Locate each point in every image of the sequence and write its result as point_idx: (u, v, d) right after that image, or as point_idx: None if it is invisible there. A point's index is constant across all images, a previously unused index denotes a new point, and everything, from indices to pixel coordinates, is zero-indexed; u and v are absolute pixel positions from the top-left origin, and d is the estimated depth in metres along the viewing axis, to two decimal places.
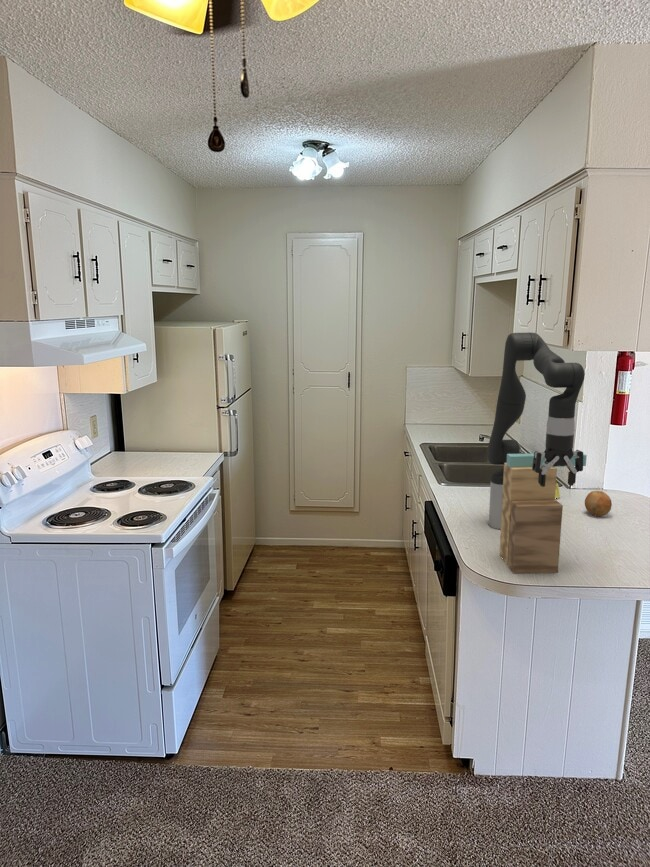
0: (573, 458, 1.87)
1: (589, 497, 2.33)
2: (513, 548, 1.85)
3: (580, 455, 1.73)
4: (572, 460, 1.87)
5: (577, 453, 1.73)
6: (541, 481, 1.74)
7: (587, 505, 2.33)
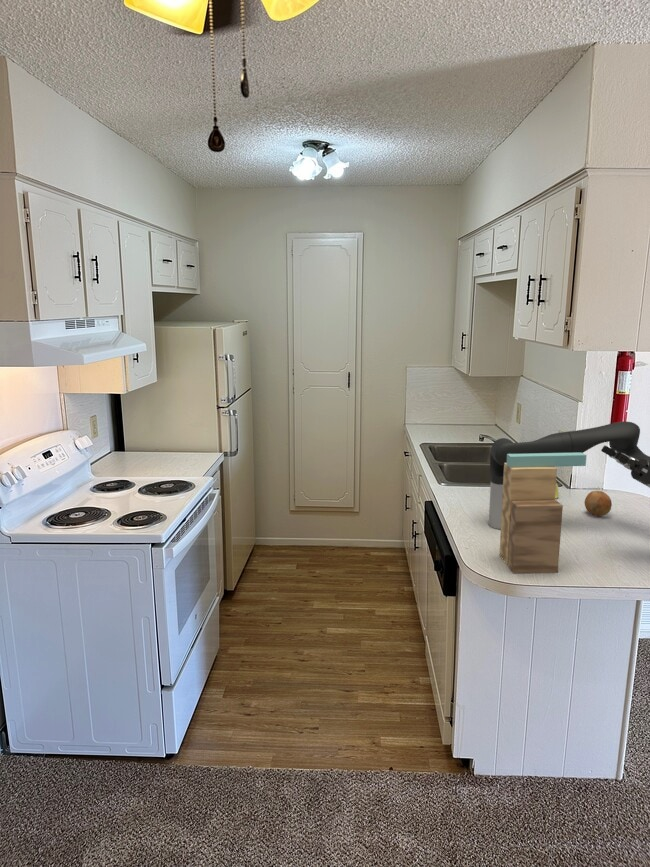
0: (573, 458, 1.87)
1: (589, 497, 2.33)
2: (513, 548, 1.85)
3: (621, 463, 1.95)
4: (572, 460, 1.87)
5: (624, 462, 1.95)
6: (620, 459, 1.84)
7: (587, 505, 2.33)
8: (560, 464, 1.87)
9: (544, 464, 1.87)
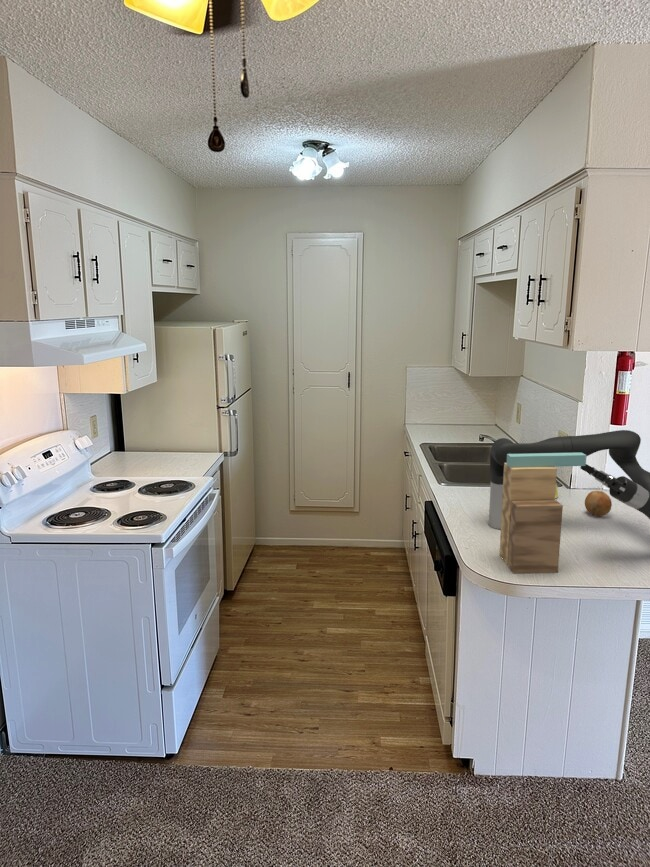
0: (573, 458, 1.87)
1: (589, 497, 2.33)
2: (513, 548, 1.85)
3: None
4: (572, 460, 1.87)
5: None
6: (598, 477, 1.85)
7: (587, 505, 2.33)
8: (560, 464, 1.87)
9: (544, 464, 1.87)
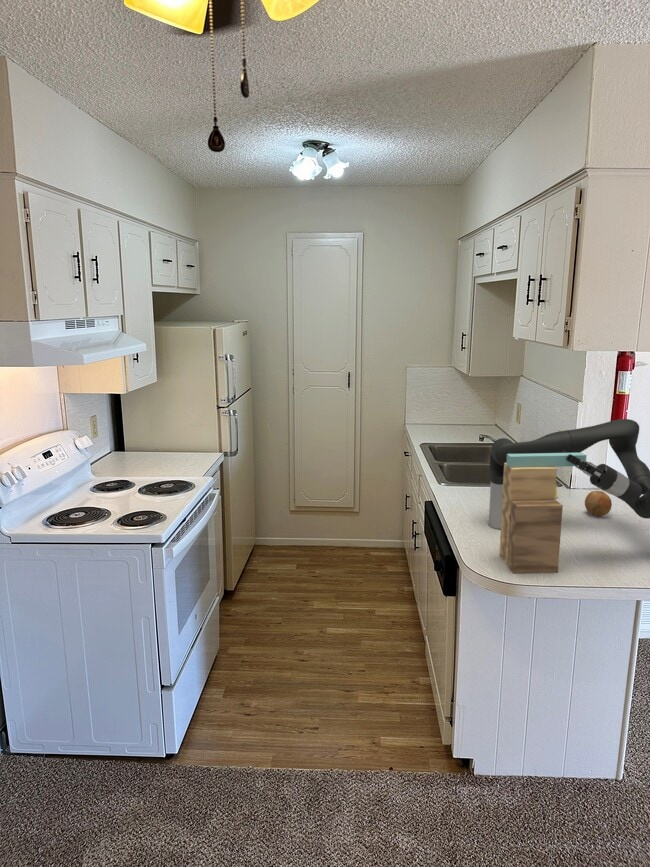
0: None
1: (589, 497, 2.33)
2: (513, 548, 1.85)
3: None
4: None
5: None
6: (571, 461, 1.86)
7: (587, 505, 2.33)
8: (560, 464, 1.87)
9: (544, 464, 1.87)
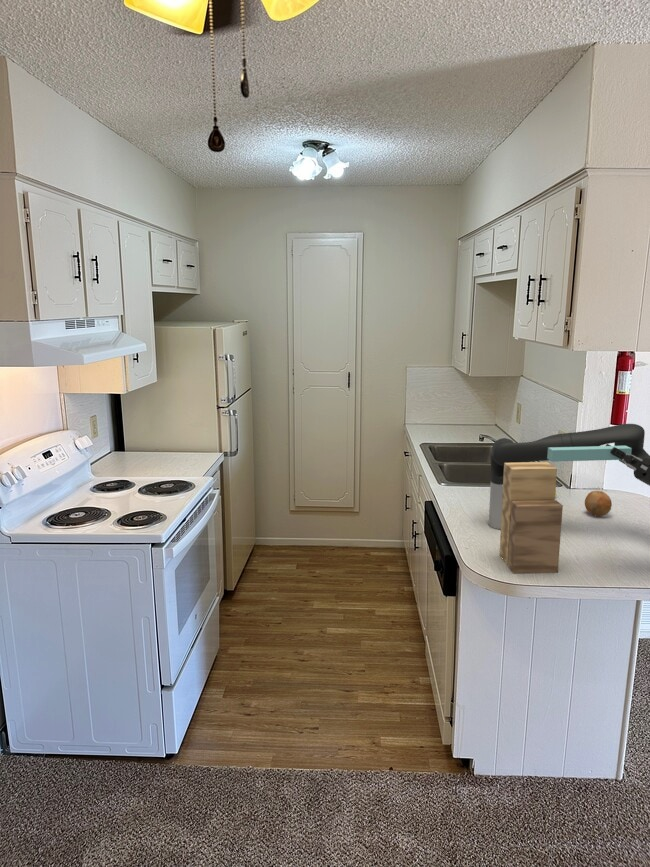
0: None
1: (589, 497, 2.33)
2: (513, 548, 1.85)
3: None
4: None
5: None
6: (616, 455, 1.78)
7: (587, 505, 2.33)
8: (604, 458, 1.79)
9: (588, 457, 1.79)
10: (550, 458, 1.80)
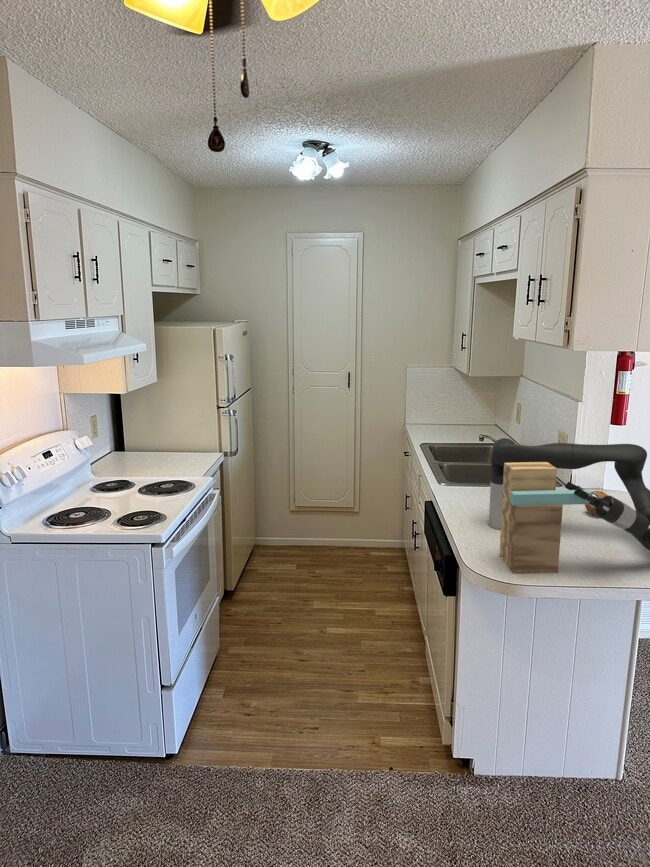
0: (578, 496, 1.82)
1: None
2: (513, 548, 1.85)
3: None
4: (577, 498, 1.82)
5: None
6: (579, 495, 1.79)
7: (587, 505, 2.33)
8: (565, 502, 1.82)
9: (549, 502, 1.82)
10: (512, 502, 1.83)
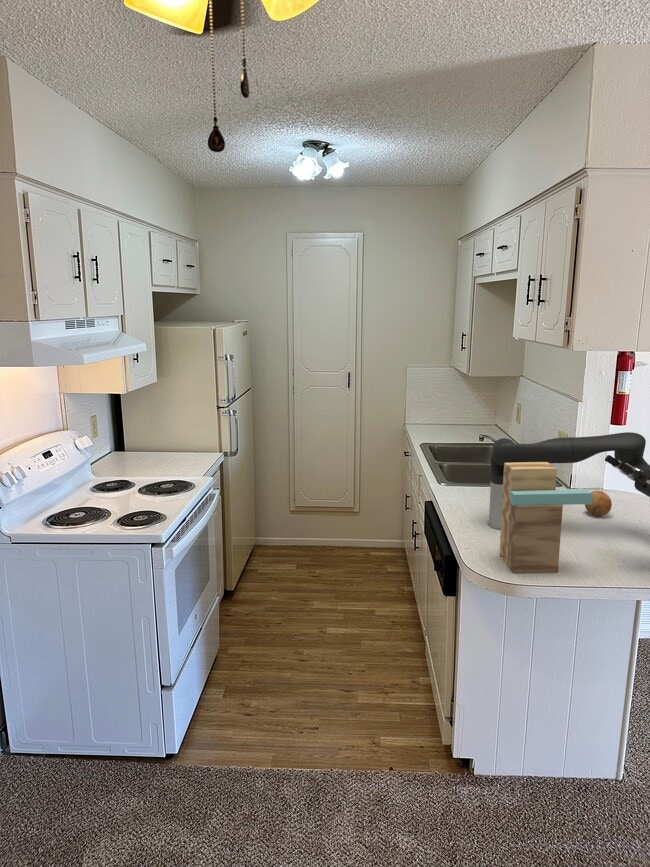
0: (578, 496, 1.82)
1: None
2: (513, 548, 1.85)
3: (625, 473, 1.90)
4: (577, 498, 1.82)
5: None
6: (624, 469, 1.78)
7: (587, 505, 2.33)
8: (565, 502, 1.82)
9: (549, 502, 1.82)
10: (512, 502, 1.83)
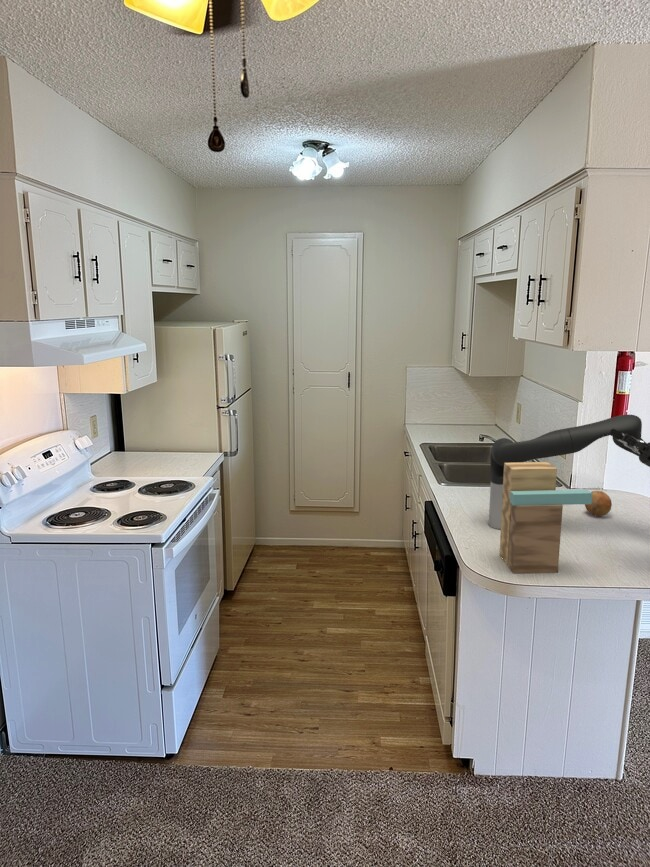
0: (578, 496, 1.82)
1: None
2: (513, 548, 1.85)
3: None
4: (577, 498, 1.82)
5: None
6: (628, 441, 1.78)
7: (587, 505, 2.33)
8: (565, 502, 1.82)
9: (549, 502, 1.82)
10: (512, 502, 1.83)
